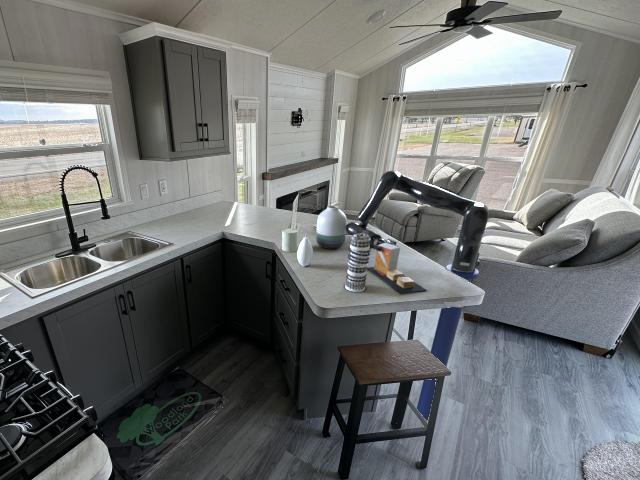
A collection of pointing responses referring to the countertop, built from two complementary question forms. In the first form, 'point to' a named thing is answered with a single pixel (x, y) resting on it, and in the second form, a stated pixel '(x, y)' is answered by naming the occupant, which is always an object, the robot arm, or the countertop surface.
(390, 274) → the block
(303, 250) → the white teardrop ornament
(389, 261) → the small box
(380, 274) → the word mat
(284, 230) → the can
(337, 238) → the vase
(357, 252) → the decorative candle
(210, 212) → the countertop surface
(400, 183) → the robot arm
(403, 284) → the letter block
